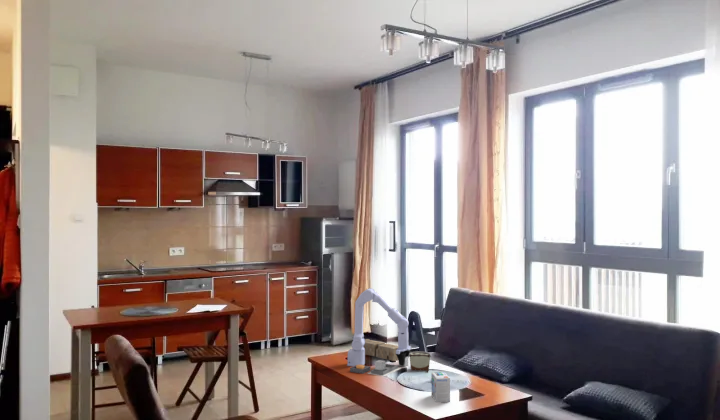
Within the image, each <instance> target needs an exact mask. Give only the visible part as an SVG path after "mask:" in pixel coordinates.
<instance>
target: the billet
mask: <svg viewBox="0 0 720 420" xmlns="http://www.w3.org/2000/svg"><path fill="white" fill-rule="evenodd" d="M398 367H402V368H405V367H409V358H408V356H405V359H404V365H403V366H401V365H400V364H399V363H398Z"/></svg>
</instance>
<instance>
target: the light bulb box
mask: <svg viewBox="0 0 720 420" xmlns="http://www.w3.org/2000/svg"><path fill="white" fill-rule="evenodd" d="M430 373H431V377H430V378H431V380H430V381H431V391H430V392H431V393H430V395H431V396H432V398H433V400H434V402H435V403H449V402H451V377H450V376H449V375H448V374H447V373H446V372H444V371H443V372H442V371H441V372H430Z"/></svg>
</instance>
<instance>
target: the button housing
mask: <svg viewBox="0 0 720 420" xmlns="http://www.w3.org/2000/svg"><path fill="white" fill-rule="evenodd" d="M349 372H350V373H357V374H363V375H364V374H367V373H369V372H371V365H370V366H368V365H364V368H363V369H359V368H356V365H355V366H350V368H349Z"/></svg>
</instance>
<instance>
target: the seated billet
mask: <svg viewBox="0 0 720 420" xmlns="http://www.w3.org/2000/svg"><path fill="white" fill-rule="evenodd" d="M374 363H375V364H374V367H375V368H374V369H375V371H381V372H383V371H385V364H386V360H382V359H378V360H376V361H374Z"/></svg>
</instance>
